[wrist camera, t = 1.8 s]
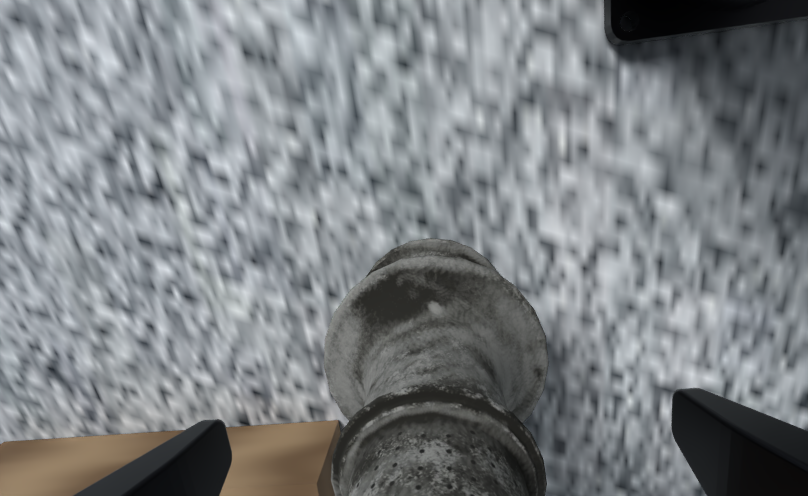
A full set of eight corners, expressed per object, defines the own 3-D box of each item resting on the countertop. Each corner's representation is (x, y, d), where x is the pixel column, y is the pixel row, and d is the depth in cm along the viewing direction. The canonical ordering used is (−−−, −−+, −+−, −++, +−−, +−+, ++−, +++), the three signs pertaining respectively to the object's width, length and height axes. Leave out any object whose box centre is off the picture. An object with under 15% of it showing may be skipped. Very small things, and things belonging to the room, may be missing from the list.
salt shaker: (465, 413, 15) (605, 1415, 3) (322, 342, 14) (-135, 1150, 3) (551, 280, 13) (1413, 1160, 2) (396, 198, 13) (113, 573, 1)
